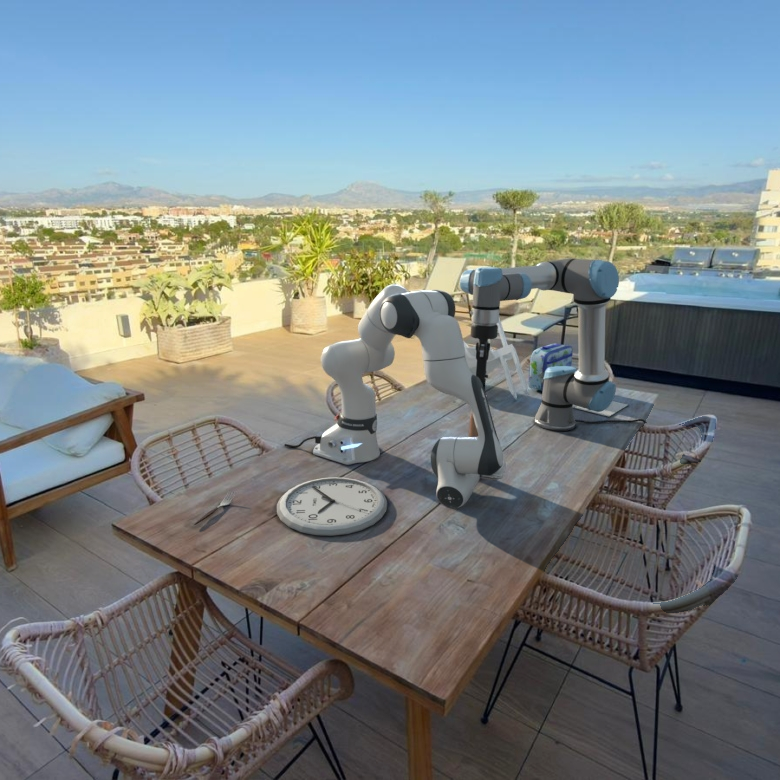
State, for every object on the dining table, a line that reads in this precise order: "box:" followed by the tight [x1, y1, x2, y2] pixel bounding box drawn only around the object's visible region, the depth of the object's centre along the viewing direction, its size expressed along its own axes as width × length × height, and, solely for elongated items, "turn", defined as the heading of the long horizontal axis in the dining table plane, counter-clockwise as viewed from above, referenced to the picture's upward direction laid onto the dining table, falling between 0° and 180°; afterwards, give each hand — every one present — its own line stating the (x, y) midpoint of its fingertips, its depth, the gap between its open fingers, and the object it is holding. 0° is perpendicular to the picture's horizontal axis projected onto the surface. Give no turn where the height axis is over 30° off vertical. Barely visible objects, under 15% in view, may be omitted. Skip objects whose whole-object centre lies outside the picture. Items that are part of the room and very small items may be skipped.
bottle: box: [468, 410, 478, 437], centre depth 158 cm, size 5×5×26 cm
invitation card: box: [573, 400, 629, 418], centre depth 226 cm, size 21×1×15 cm
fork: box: [193, 490, 237, 526], centre depth 138 cm, size 3×16×2 cm, turn 160°
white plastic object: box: [463, 317, 531, 400], centre depth 245 cm, size 37×45×31 cm
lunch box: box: [528, 343, 574, 392], centre depth 249 cm, size 26×11×21 cm, turn 134°
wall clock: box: [276, 476, 388, 537], centre depth 142 cm, size 30×2×30 cm
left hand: (475, 454), depth 160 cm, fingers closed on bottle, 5 cm apart
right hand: (479, 401), depth 154 cm, fingers closed on cap, 4 cm apart
